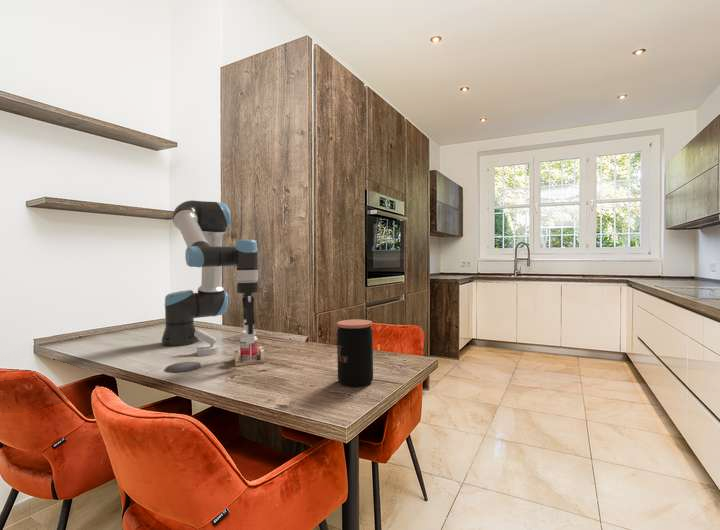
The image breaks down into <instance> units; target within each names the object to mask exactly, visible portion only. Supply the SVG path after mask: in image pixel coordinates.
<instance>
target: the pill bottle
mask: <svg viewBox="0 0 720 530" xmlns="http://www.w3.org/2000/svg"><path fill="white" fill-rule="evenodd" d="M255 335H256V330H255V329H254V336H255ZM241 336H242V337H240V339H239V347H240V349H239V351H240V352H239V356H240V357H241V359H240V362H244V361H253V360H259V357H258V354H259V346H258V337H257V336H255V343H249V344H247V342H246V330H245V331H244V330H242V331H241Z"/></svg>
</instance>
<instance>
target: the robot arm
mask: <svg viewBox="0 0 720 530" xmlns="http://www.w3.org/2000/svg"><path fill="white" fill-rule="evenodd" d="M229 208H230V207H229V206H228V205H227V204H226V203H225V202H218V201H204V200H192V199H191V200H186V201H183V202H181V203H180V204H179V205H177V206H176V208H175V209H174V210H173V212H172V215H171V216H172V218H171V219H172V222H173V224H174V226H175V227H176V229H178V230H179V232H180V234H181V235H182V238H183V240H184V242H185V245H186V249H185V255H184V258H185V263H186V266H188V267H189V268H195V267H196V268H201V284H200V286H199V287H198V288H197V292H194V291H193V290H192V289H188V290H179V291H175V292H171V293H168V294H166V295H165V298H164V310H165V311H164V317H165V318H164V319H165V320H164V321H165V327H164V331H163V334H162V337H161V345H162V346H165V347H166V346H167V347H177V346H178V347H179V346H186V345H191V344H195V343H197V342H198V341H199V338H198V337H196V336H194V333H195V331H196V330H197V329H196V327H195V324H194V322H195V321H194V319H199V318H209V317H213V318H214V317H218V316H223V315H224V314H225V312H226V311H227V309H228V304H229V295H228V293H227V291H226V290H225V288H224V287H223V286H222V284H221V283H222V267H236V272H235V273H234V276H236V281H237V284H236V292H237V293H238V294H242V298H241V300H242V301H241V302H242V307H243V311H242V312H243V314H242V316H243V317H242V318H243V331H245V330H246V342H247V344H249V343H255V336H254V330H255V323H256V321H255V309H254V307H255V303H254V302H255V297H254V295H252V293H254V294H255V293H258V292H259V282H258V281H259V267H258V266H259V265H258V264H259V263H258V251H259V250H258V244H257V241H256V240H255V239H238V240H236V241H235V246H223V235H225V234H226V232H227V229H229V228H230V227H231V224H232V221H231V220H232V217H231V212H230V211H231V210H230V209H229Z"/></svg>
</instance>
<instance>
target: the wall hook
mask: <svg viewBox="0 0 720 530" xmlns="http://www.w3.org/2000/svg"><path fill="white" fill-rule="evenodd" d="M194 336H196V337H198V339H200V340H202V341H204V342H205V343H208V344H203V345H199V346H197V347H196V355H197V356H200V357H201V356H202V357H203V356H206V357H207V356H213V355H218V354H220V352H221V345H219V344H216V343H217V338H216V337H215V336H213V335H212V334H209V333H207V332H205V331H203V330H201V329H199V328H197V329H196V331H195V333H194Z"/></svg>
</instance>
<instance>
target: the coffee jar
mask: <svg viewBox="0 0 720 530" xmlns="http://www.w3.org/2000/svg"><path fill="white" fill-rule="evenodd" d="M336 326H337V327H338V329H337V330H336V345H337V346H336V352H337V355H336V356H337V379H338V382H339V383H340V385H342V386H345V387H350V388H362V387H365V386H369V385H370V384H372V381H373V380H374V350H373V349H374V347H373V343H374V342H373V334H374V333H373V329H372V326H373V321H372V320H368V319H358V318H357V319H356V318H355V319H345V320H344V319H343V320H340V321H337V322H336Z"/></svg>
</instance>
